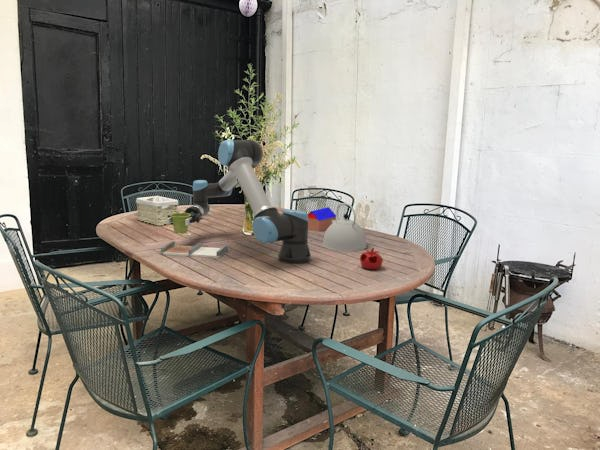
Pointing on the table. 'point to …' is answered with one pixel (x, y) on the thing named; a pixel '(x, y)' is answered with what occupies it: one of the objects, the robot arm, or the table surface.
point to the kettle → (345, 234)
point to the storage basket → (156, 209)
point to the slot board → (193, 250)
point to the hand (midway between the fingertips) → (176, 222)
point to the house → (320, 219)
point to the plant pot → (180, 222)
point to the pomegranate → (371, 260)
